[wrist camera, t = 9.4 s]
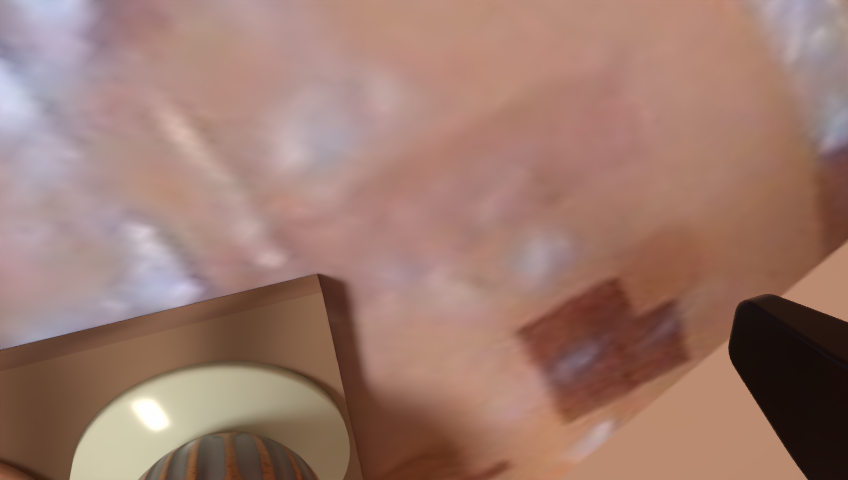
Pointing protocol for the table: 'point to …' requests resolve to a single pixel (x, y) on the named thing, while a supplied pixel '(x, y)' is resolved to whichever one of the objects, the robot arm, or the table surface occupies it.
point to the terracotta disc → (12, 473)
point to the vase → (231, 460)
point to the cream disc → (212, 419)
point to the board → (157, 366)
